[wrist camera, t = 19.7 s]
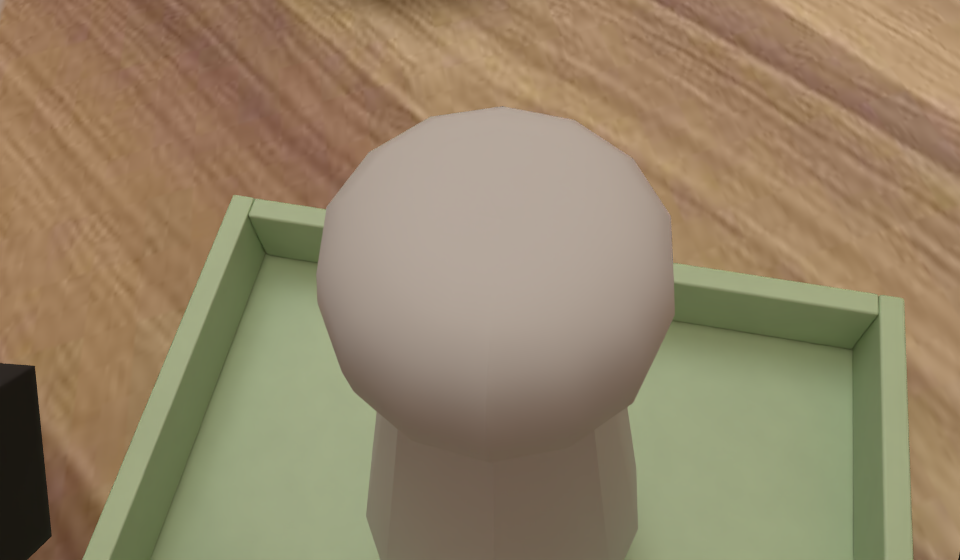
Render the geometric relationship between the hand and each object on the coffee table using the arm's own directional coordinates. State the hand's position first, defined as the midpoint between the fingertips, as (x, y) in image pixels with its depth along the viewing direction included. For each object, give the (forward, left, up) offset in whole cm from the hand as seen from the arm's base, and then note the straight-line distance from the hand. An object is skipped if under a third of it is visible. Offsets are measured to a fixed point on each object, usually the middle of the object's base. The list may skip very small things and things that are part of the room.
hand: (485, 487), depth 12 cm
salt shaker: (0, +2, -9) cm, 9 cm away
